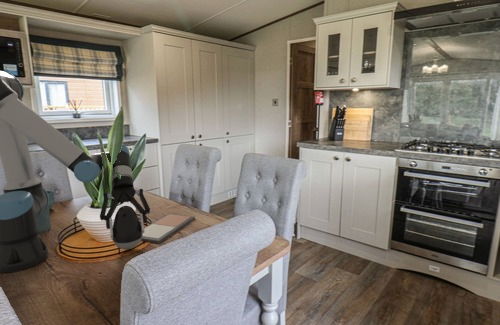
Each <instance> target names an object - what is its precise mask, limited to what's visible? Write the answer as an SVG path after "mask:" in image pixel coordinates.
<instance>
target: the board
mask: <svg viewBox="0 0 500 325" xmlns="http://www.w3.org/2000/svg"><path fill="white" fill-rule="evenodd" d="M194 220H196V216H193V215H185V214H176V213H167V214H166V215H164V216H162V217H161V218H158V219H157V220H156V221H153V222H151V223H150V224H148V225H147V226H144V233H143V236H142V240H141V241H142V242H150V243H155V244H160V243H162V242H163V241H165V240H166V239H168V238H169V237H171V235H173V234H175V233H176V232H178V231H180V229H182V228H184V226H186V225H188V224H189V223H191V222H192V221H194Z"/></svg>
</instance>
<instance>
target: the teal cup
mask: <svg viewBox="0 0 500 325" xmlns="http://www.w3.org/2000/svg"><path fill="white" fill-rule="evenodd" d="M50 214H51V213H50V209H49V203H48V205H47V208H46V209H45V210H44V212H43V213H42V214H40V216H39V217H38V218H37V219H36V220H37V226H38V232H39V234H41V233H44V232H47V231H49V230H51V228H52V227H51V226H52V225H51V224H52V223H51V217H50Z"/></svg>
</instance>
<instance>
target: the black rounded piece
mask: <svg viewBox="0 0 500 325" xmlns="http://www.w3.org/2000/svg"><path fill="white" fill-rule="evenodd" d="M112 226H113V238H111V240H112V241H113V243H114V245H115V246H116V247H117V248H118V249H121V250H130V249H134V248H135V247H138V245H139V244H140V243H141V241H142V240H141V239H142V236H143V233H142V229H141V221H140V217H139V216H138V214H137V212H136V211H135V209H133V207H131V206H130V205H122V206H120V207H119V209H118V210H117V211H116V214H115V217H114V220H113V222H112Z"/></svg>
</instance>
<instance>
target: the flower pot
mask: <svg viewBox="0 0 500 325" xmlns="http://www.w3.org/2000/svg"><path fill="white" fill-rule="evenodd" d="M46 191H47V193H48V196H49V202H48V203H49V210H50V209H52V207H54V206H53V205H54V203H55V191H54V190H52V191H51V190H46Z"/></svg>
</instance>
